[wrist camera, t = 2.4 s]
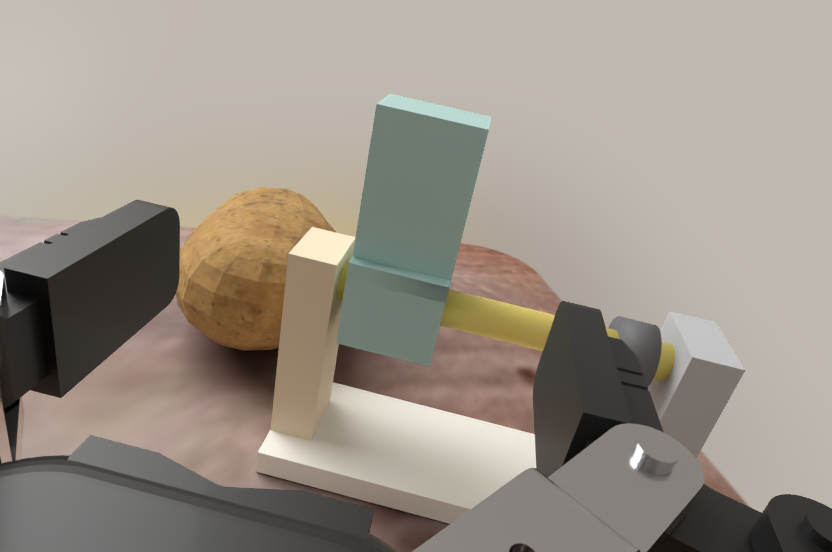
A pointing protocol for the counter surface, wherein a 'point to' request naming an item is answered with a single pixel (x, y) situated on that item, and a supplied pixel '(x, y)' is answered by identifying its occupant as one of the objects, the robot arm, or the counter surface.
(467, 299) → the stand
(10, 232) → the counter surface
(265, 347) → the potato
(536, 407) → the robot arm
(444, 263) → the tall teal block
